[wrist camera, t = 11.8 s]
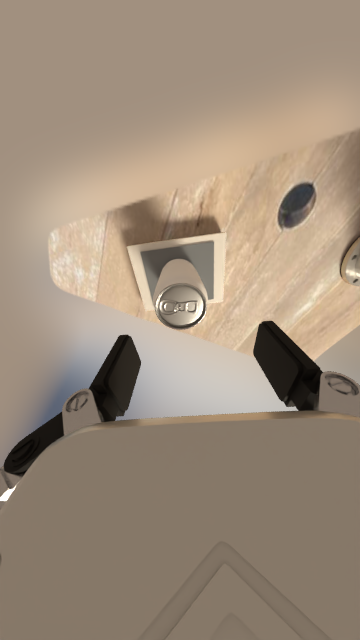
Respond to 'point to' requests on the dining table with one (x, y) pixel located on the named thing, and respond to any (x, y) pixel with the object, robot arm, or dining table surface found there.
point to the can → (180, 295)
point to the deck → (195, 249)
